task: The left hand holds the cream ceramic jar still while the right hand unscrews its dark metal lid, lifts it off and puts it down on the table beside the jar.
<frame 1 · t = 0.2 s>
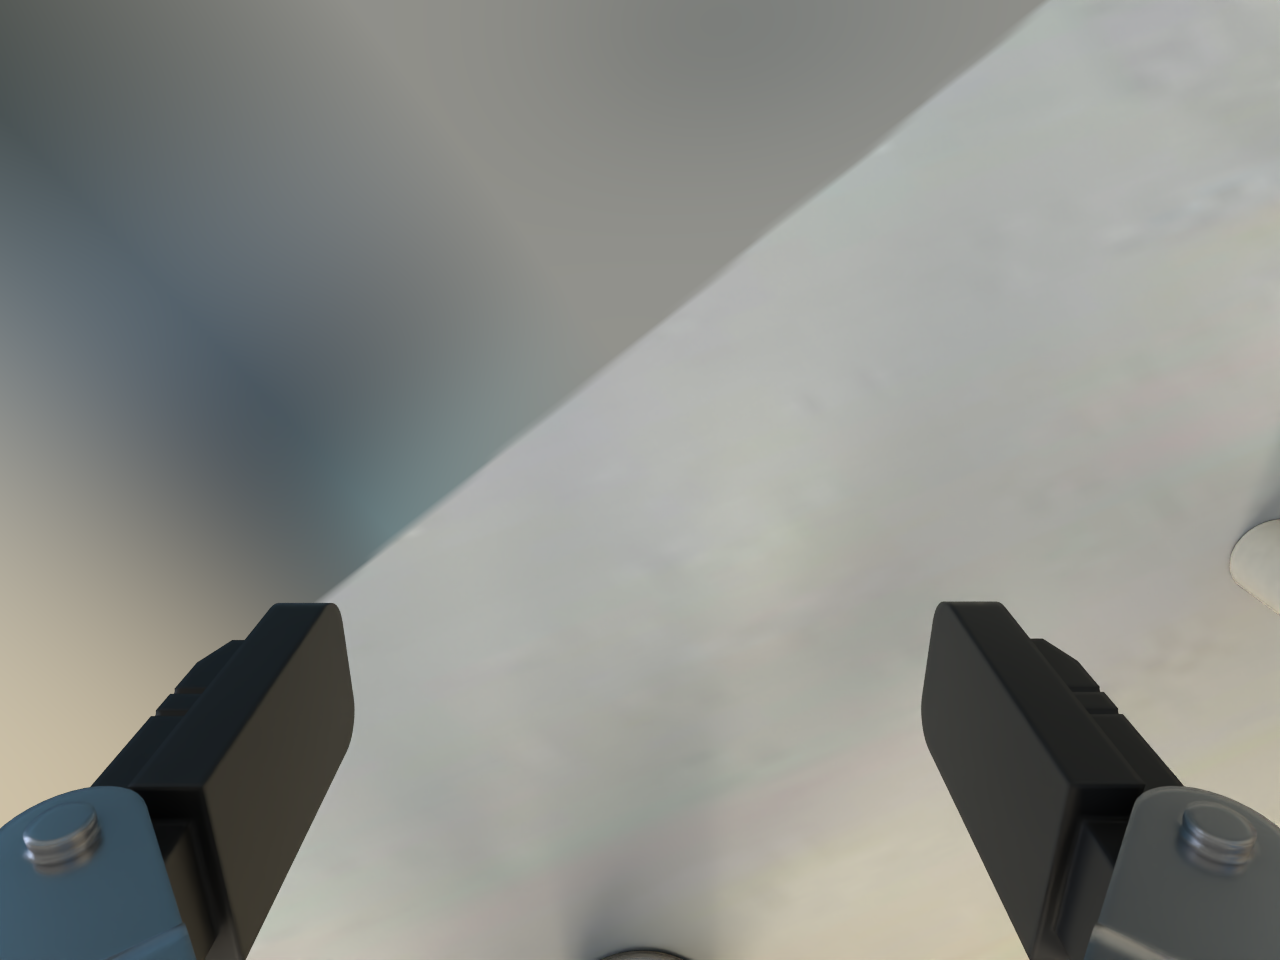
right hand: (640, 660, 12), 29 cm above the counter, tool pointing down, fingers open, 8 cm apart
jar: (1270, 556, 44), on the counter
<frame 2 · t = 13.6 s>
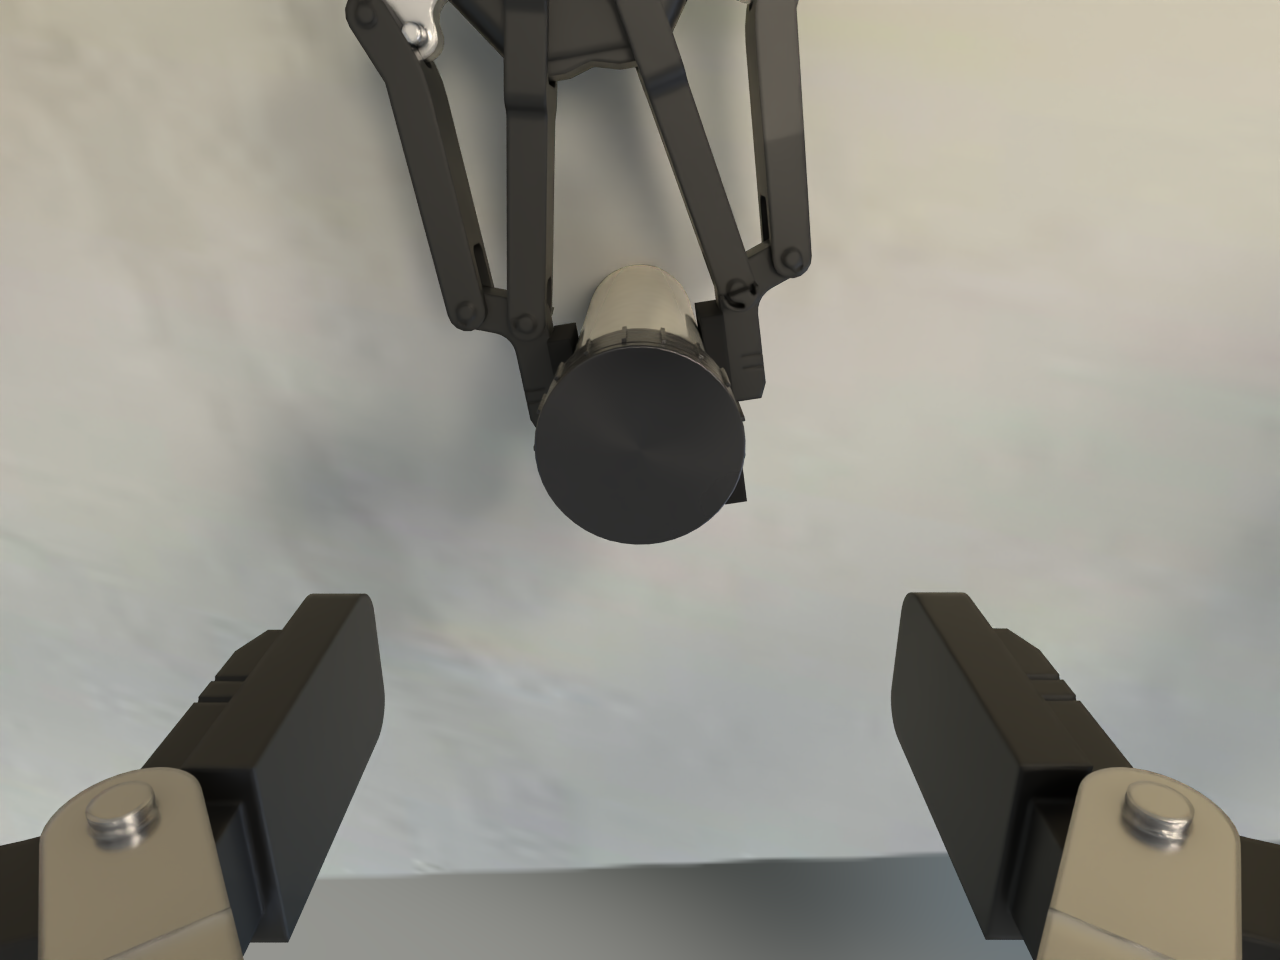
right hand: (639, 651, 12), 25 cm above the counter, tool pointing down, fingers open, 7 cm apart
left hand: (663, 497, 31), fingers closed on jar, 4 cm apart
lid: (639, 444, 20), point 16 cm above the counter, screwed on, not yet turned
jar: (640, 316, 35), on the counter, touching left hand
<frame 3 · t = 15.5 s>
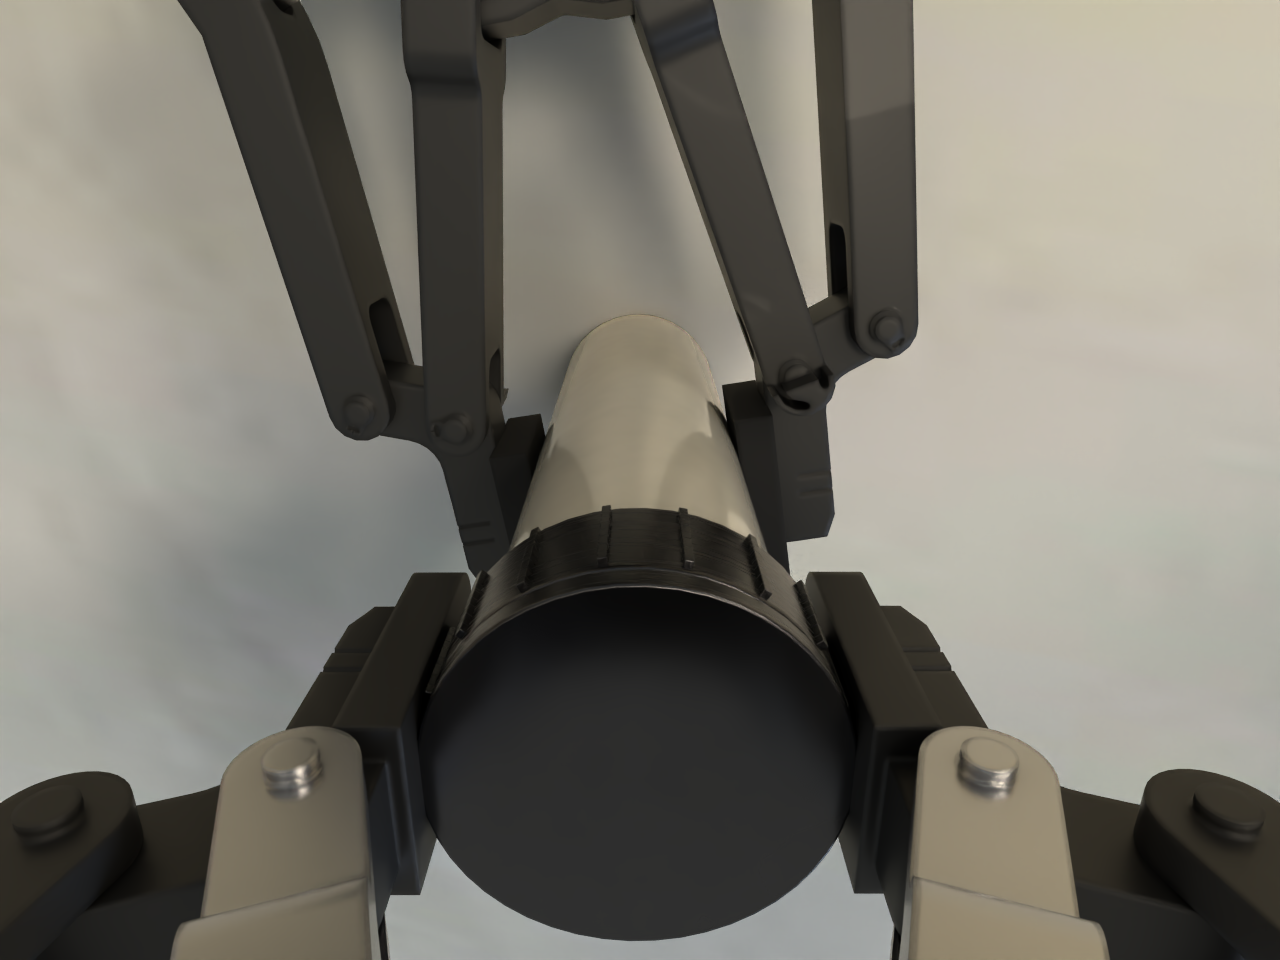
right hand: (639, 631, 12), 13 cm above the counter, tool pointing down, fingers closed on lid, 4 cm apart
left hand: (674, 671, 20), fingers closed on jar, 4 cm apart
lid: (637, 758, 10), point 16 cm above the counter, screwed on, not yet turned, touching right hand
jar: (638, 386, 25), on the counter, touching left hand
when the right hand's fingers open (14 cm above the counter, at t = 17.2 s): lid stays where it is, point 16 cm above the counter.
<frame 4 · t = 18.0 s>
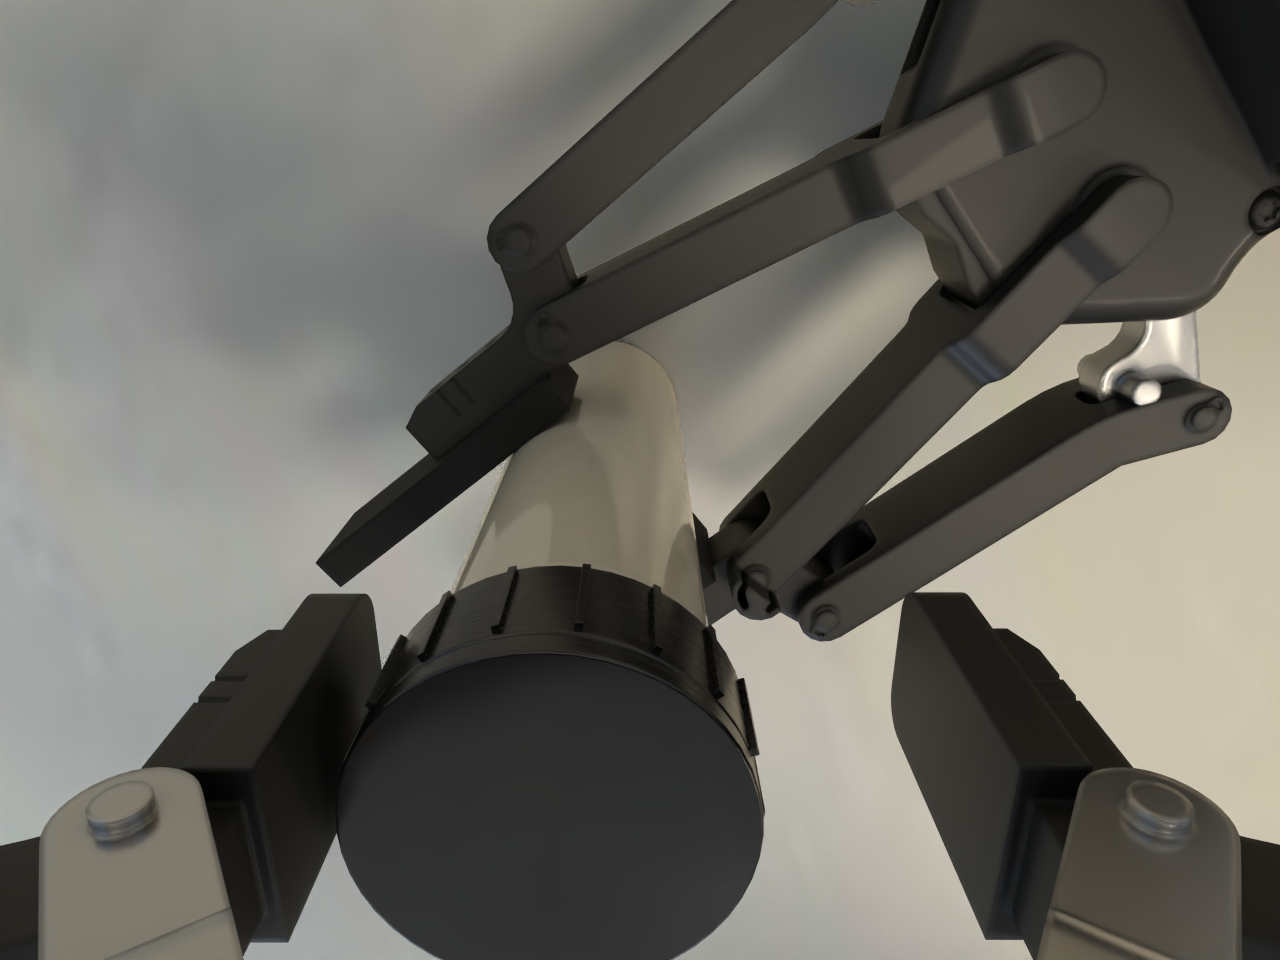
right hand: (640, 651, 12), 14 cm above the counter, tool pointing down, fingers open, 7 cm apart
left hand: (423, 620, 20), fingers closed on jar, 4 cm apart
lid: (552, 812, 10), point 16 cm above the counter, turned 107° so far, risen 0.4 cm, still on its thread
jar: (606, 409, 25), on the counter, touching left hand
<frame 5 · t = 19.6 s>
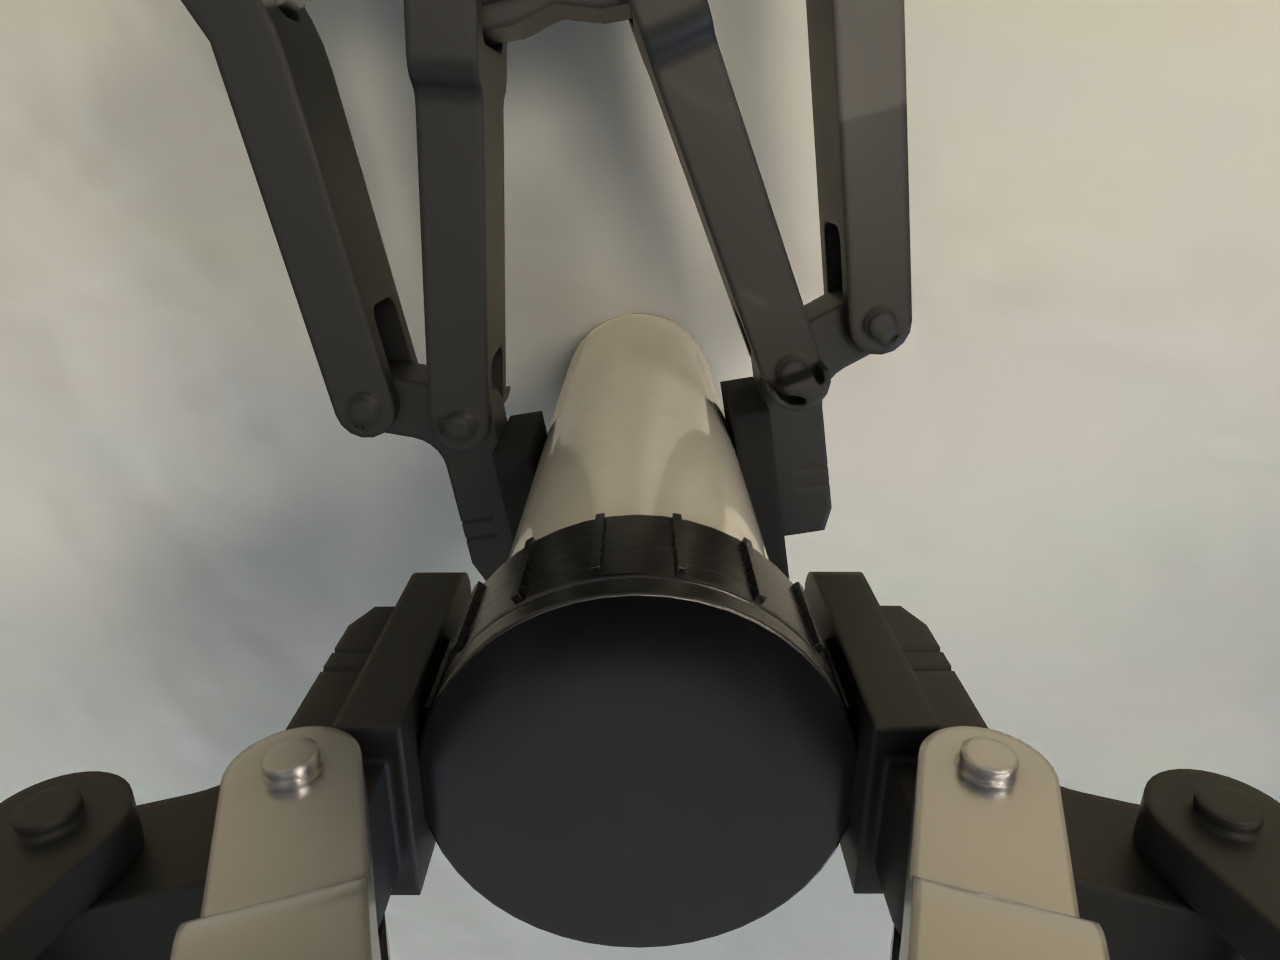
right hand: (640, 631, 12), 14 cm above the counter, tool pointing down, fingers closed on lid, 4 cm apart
left hand: (674, 663, 21), fingers closed on jar, 4 cm apart
lid: (638, 766, 10), point 16 cm above the counter, turned 107° so far, risen 0.4 cm, still on its thread, touching right hand
jar: (638, 384, 25), on the counter, touching left hand
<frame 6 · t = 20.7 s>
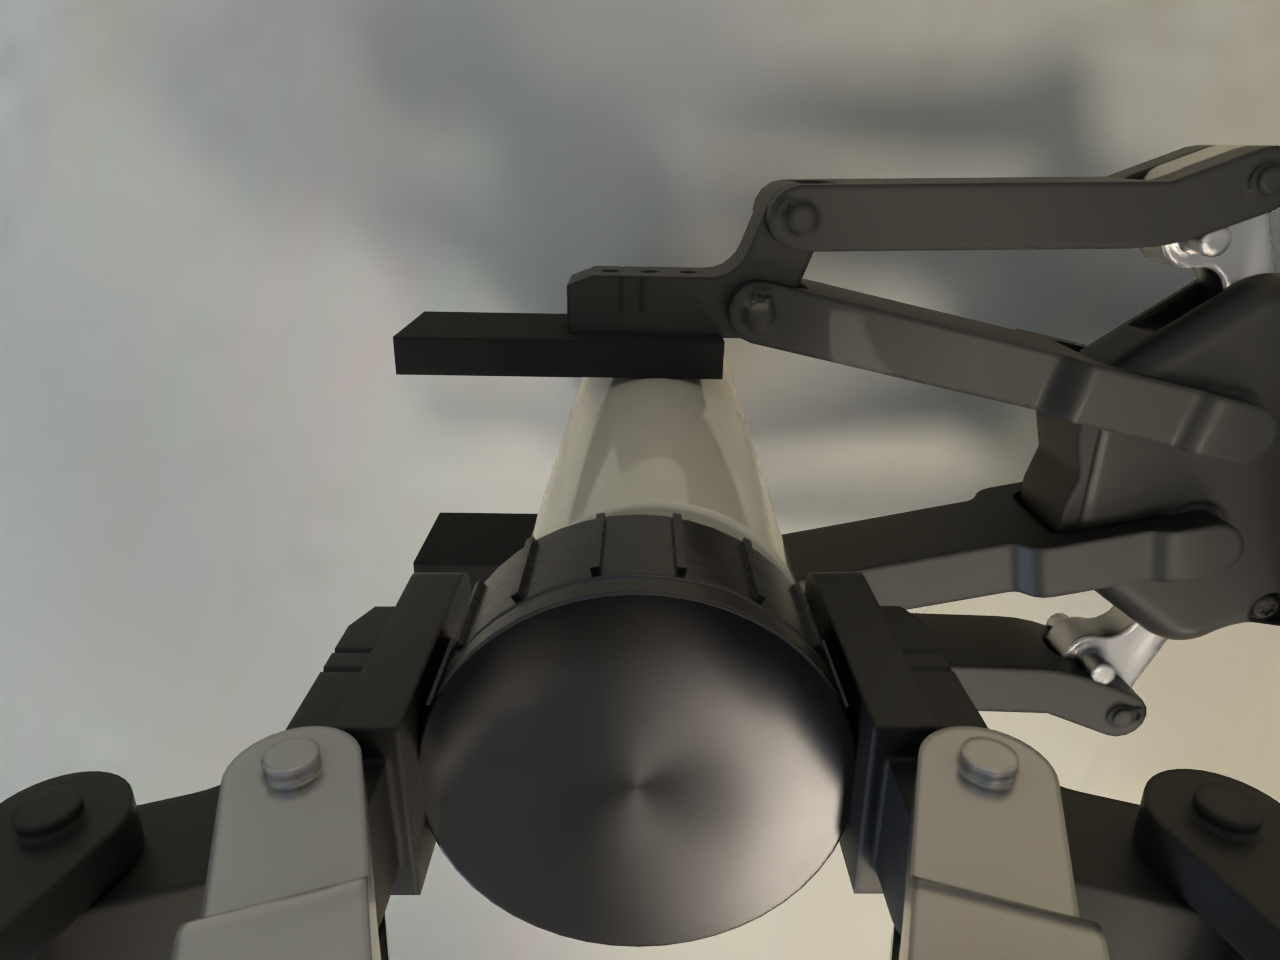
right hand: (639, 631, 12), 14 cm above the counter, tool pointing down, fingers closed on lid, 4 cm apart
left hand: (422, 451, 19), fingers closed on jar, 4 cm apart
lid: (637, 765, 10), point 17 cm above the counter, off its thread, touching right hand
jar: (656, 379, 25), on the counter, touching left hand
when the right hand's fingers open (0 cm above the counter, at t = 26.8 s): lid drops 1 cm, point 2 cm above the counter.
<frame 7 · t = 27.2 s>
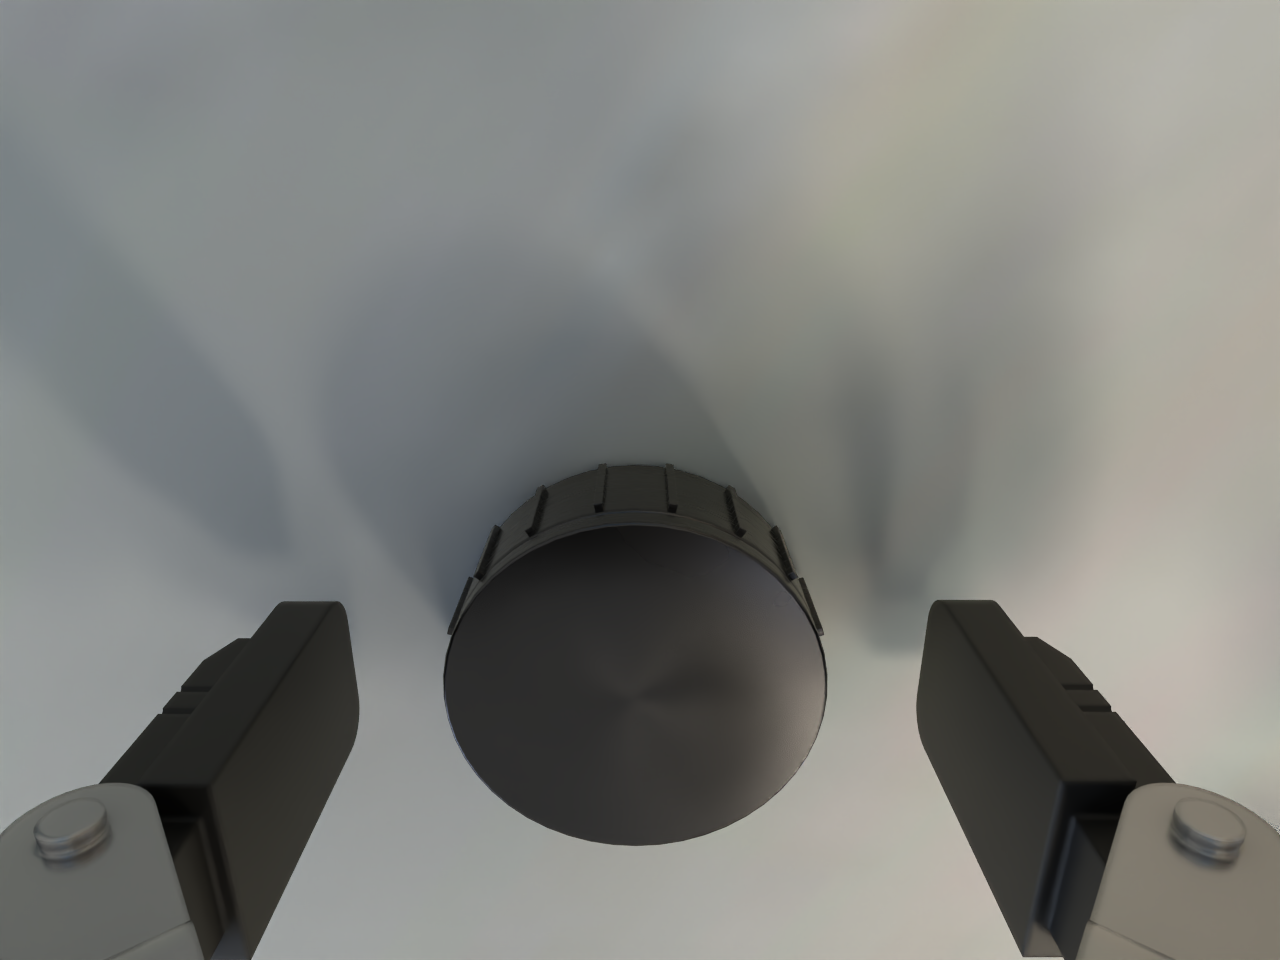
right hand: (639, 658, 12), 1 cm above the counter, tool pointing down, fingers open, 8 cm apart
lid: (635, 682, 11), point 2 cm above the counter, off its thread
when the left hand's fingers open (7 cm above the counter, at t = 27.7 s): jar stays where it is, on the counter.
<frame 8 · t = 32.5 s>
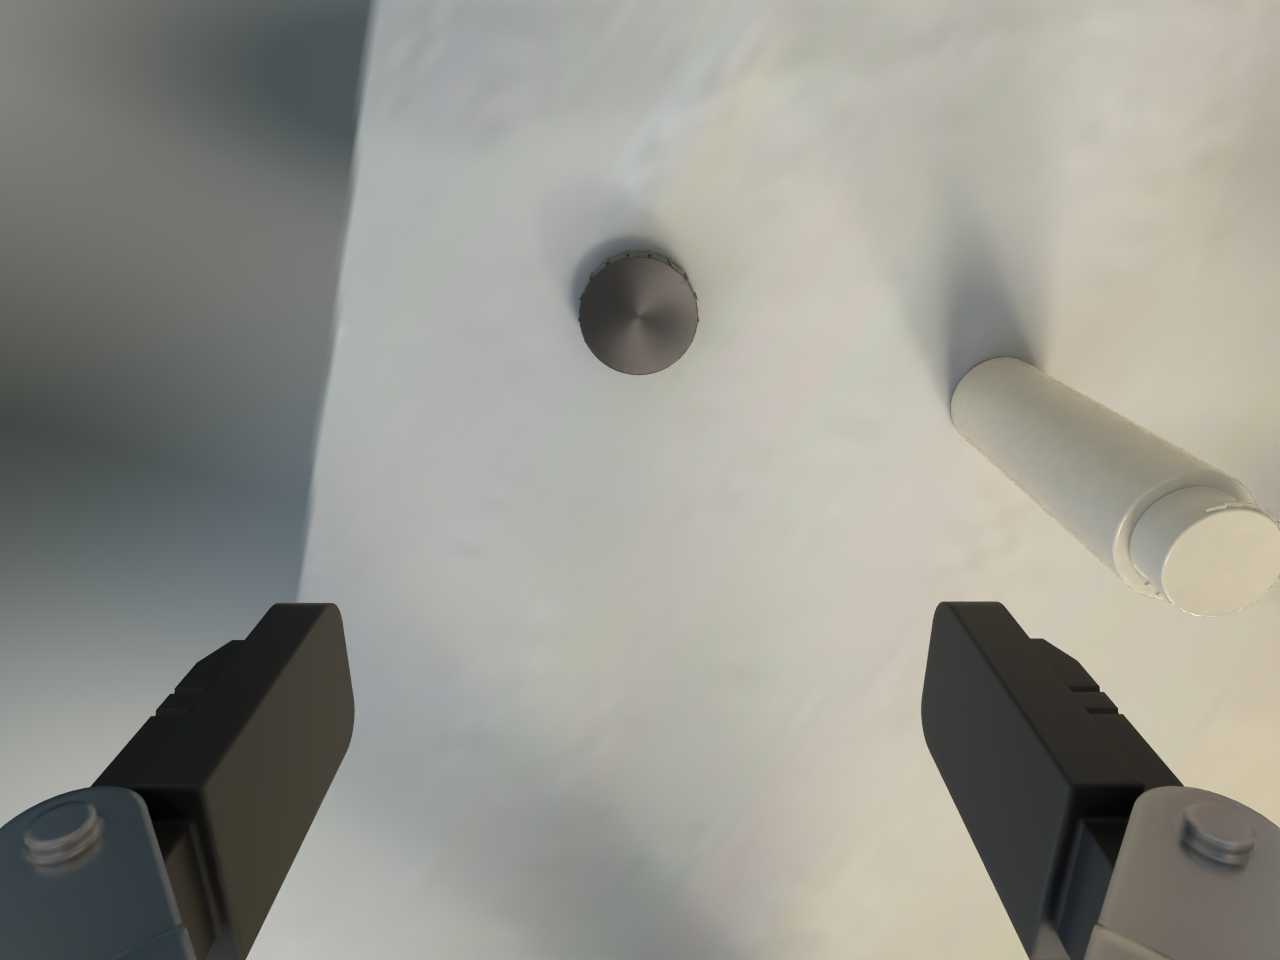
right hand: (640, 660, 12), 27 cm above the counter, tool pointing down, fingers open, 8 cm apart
lid: (638, 315, 35), point 2 cm above the counter, off its thread
jar: (997, 402, 38), on the counter
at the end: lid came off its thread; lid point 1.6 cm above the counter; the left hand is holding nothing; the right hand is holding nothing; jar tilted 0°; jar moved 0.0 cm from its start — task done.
